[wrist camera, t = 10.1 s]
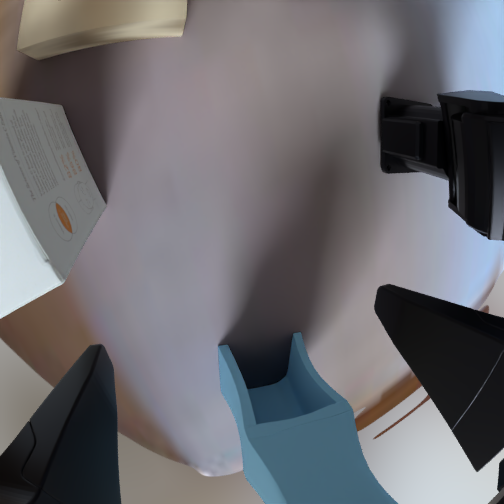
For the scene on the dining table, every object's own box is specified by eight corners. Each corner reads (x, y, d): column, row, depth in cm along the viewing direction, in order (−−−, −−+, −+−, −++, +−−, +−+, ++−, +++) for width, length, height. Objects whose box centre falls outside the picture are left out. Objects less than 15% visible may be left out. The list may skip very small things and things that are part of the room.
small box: (2, 146, 14) (-97, 176, 5) (64, 103, 14) (-24, 89, 5) (48, 242, 18) (-17, 332, 8) (109, 207, 18) (65, 286, 9)
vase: (221, 399, 28) (283, 574, 11) (217, 345, 25) (301, 570, 8) (291, 385, 30) (376, 537, 13) (300, 331, 27) (422, 511, 10)
